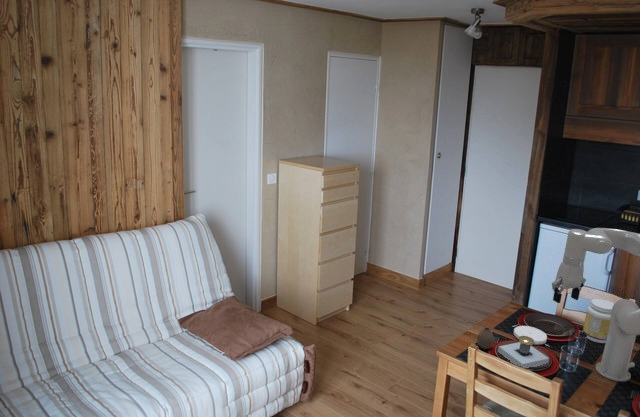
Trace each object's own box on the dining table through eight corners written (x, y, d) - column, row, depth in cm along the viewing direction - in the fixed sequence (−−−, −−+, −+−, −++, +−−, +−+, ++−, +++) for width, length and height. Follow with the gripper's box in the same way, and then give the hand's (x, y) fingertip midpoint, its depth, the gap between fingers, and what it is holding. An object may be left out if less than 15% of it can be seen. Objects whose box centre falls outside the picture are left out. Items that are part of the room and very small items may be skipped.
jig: (522, 349, 232) (524, 341, 231) (547, 366, 220) (549, 358, 219) (497, 354, 227) (498, 346, 226) (521, 372, 215) (522, 364, 213)
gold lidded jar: (522, 353, 227) (526, 334, 224) (533, 361, 222) (537, 342, 219) (511, 356, 224) (515, 337, 222) (522, 363, 219) (526, 344, 217)
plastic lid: (507, 336, 243) (508, 331, 243) (523, 327, 252) (524, 322, 252) (536, 349, 233) (537, 344, 233) (551, 340, 242) (552, 335, 242)
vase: (493, 352, 229) (496, 333, 226) (476, 349, 230) (479, 331, 228) (491, 344, 235) (494, 326, 233) (475, 341, 236) (478, 323, 234)
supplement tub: (587, 328, 255) (594, 295, 251) (615, 338, 247) (622, 304, 242) (577, 336, 247) (584, 302, 242) (605, 347, 239) (613, 312, 234)
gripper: (581, 255, 218) (573, 293, 223) (549, 259, 211) (542, 298, 216) (597, 261, 211) (588, 301, 216) (564, 266, 205) (556, 307, 209)
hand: (565, 300), depth 216 cm, fingers open, 9 cm apart
